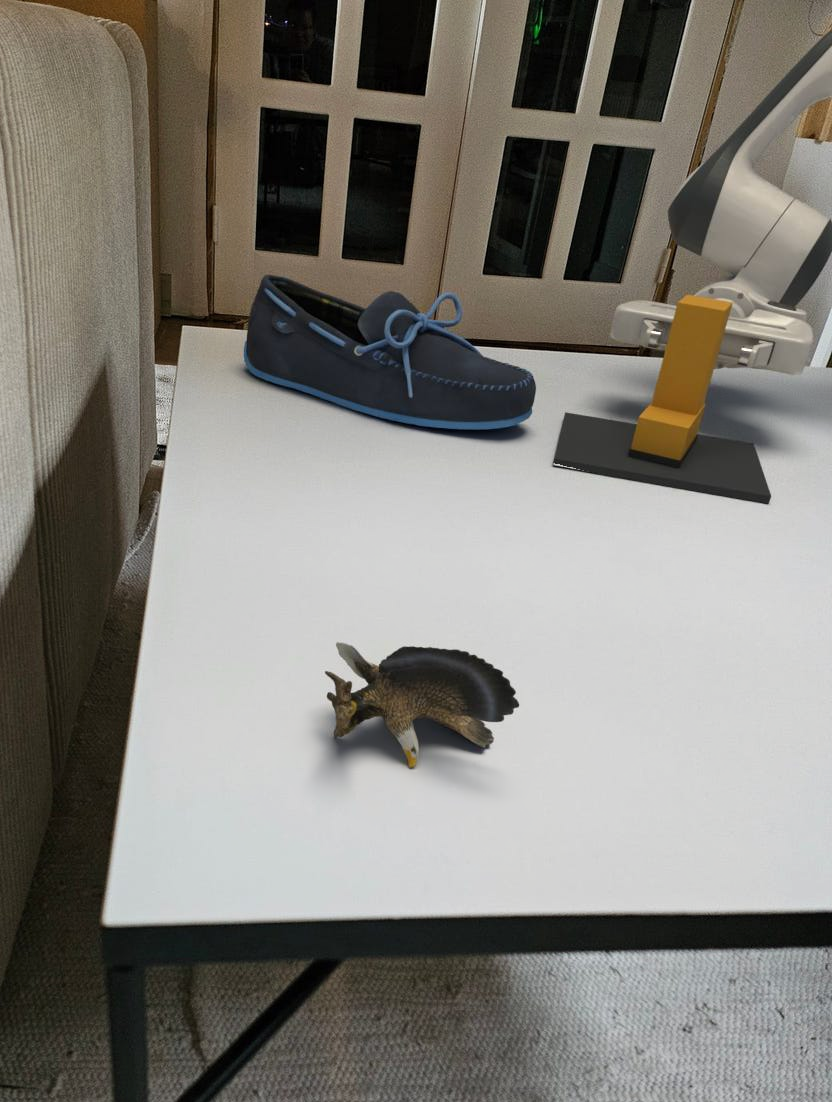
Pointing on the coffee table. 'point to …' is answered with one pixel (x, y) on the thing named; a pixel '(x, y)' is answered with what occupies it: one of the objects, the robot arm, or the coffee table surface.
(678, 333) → the boot
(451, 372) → the moccasin
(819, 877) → the coffee table surface
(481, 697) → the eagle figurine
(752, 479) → the shoe mat
